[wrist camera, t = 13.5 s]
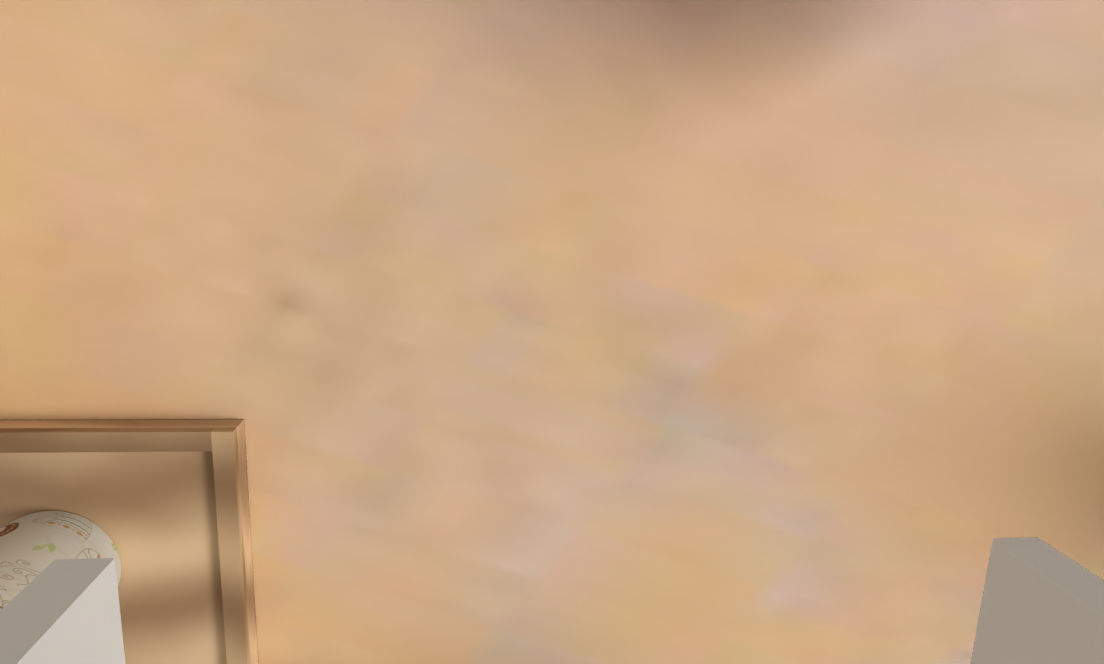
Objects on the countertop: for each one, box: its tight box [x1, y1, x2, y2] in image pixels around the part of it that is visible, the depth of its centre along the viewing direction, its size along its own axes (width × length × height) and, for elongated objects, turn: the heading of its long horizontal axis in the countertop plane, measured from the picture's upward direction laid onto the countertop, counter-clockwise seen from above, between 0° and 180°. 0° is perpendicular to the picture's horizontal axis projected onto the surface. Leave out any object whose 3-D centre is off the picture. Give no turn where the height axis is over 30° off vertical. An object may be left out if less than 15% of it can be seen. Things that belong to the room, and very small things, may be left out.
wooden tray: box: [0, 419, 258, 664], centre depth 37 cm, size 18×18×2 cm
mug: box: [0, 511, 121, 610], centre depth 32 cm, size 8×13×10 cm, turn 30°
